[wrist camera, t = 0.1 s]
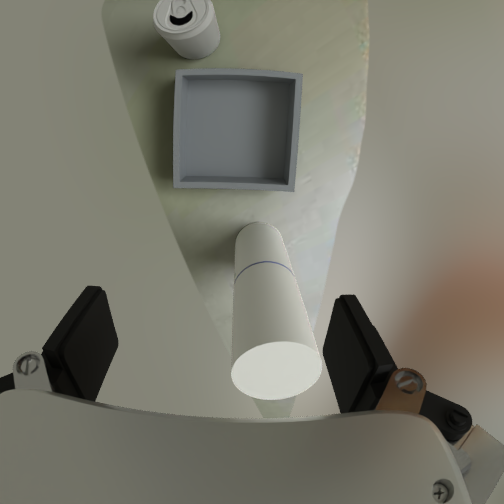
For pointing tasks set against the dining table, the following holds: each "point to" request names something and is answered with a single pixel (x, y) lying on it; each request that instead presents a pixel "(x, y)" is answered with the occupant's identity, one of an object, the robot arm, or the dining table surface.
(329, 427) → the robot arm
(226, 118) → the box
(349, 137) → the dining table surface
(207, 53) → the beverage can
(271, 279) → the cylindrical container
